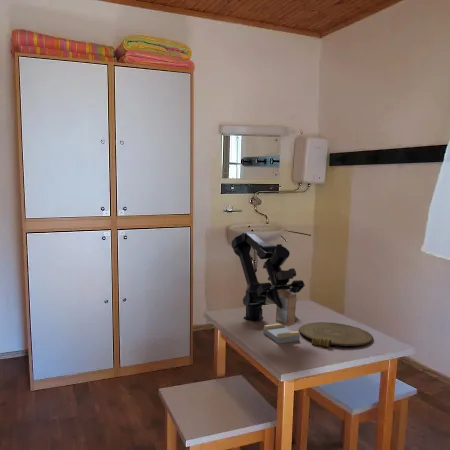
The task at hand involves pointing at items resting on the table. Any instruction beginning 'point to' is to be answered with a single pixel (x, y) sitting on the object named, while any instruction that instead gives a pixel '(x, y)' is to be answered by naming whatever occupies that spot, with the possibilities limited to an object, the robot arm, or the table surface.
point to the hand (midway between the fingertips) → (288, 307)
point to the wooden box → (286, 308)
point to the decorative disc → (335, 334)
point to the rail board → (280, 333)
